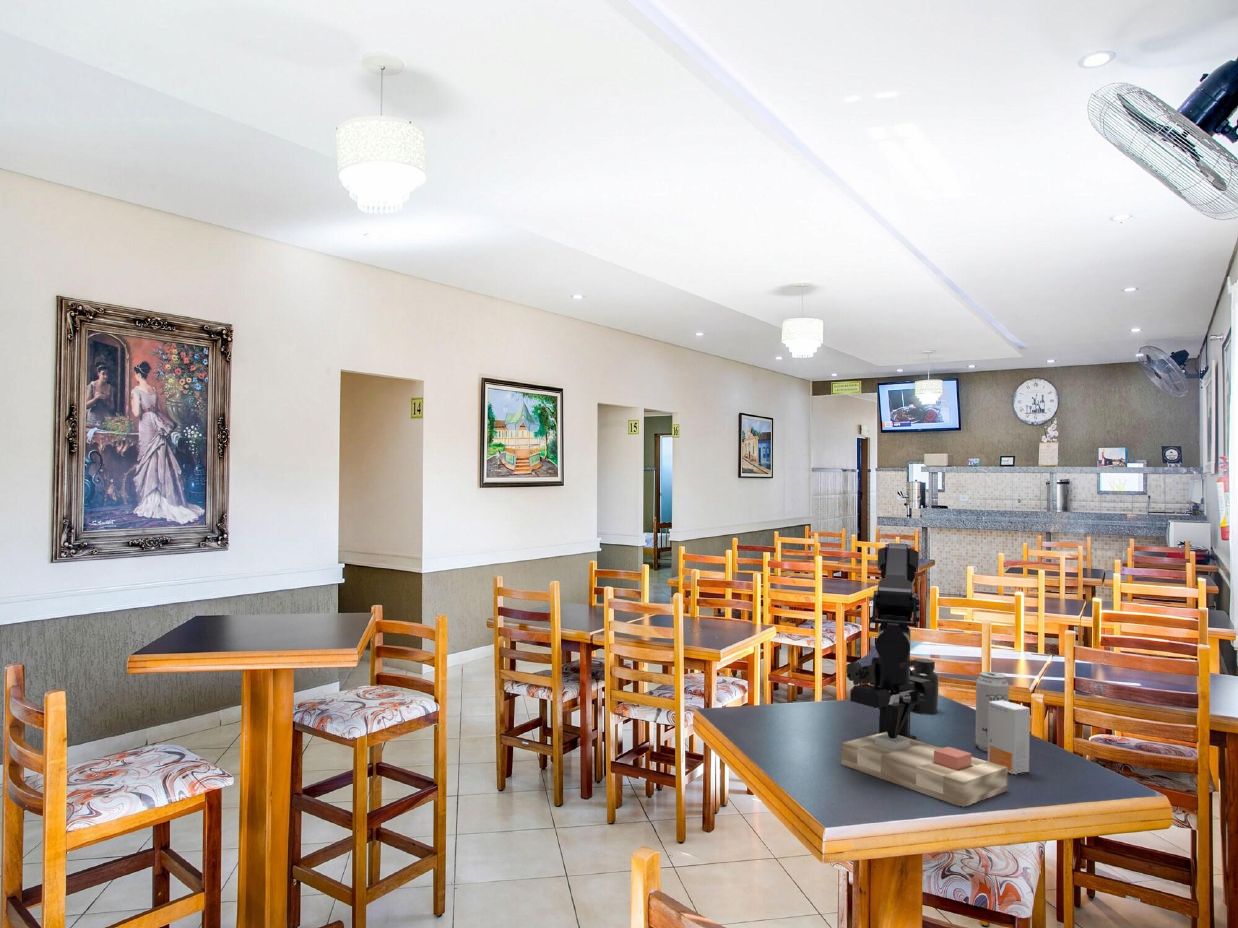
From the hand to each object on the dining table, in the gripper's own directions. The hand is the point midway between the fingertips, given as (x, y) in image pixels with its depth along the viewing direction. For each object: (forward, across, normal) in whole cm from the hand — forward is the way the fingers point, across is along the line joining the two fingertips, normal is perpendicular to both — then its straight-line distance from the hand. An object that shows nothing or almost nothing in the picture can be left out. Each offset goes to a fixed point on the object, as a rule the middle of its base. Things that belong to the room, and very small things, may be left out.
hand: (892, 737), depth 146 cm
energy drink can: (+6, -28, +4) cm, 29 cm away
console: (+5, 0, +6) cm, 8 cm away
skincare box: (+6, -19, +12) cm, 23 cm away
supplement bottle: (+6, -43, -21) cm, 48 cm away
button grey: (+4, 0, 0) cm, 4 cm away
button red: (+3, 0, +12) cm, 12 cm away
